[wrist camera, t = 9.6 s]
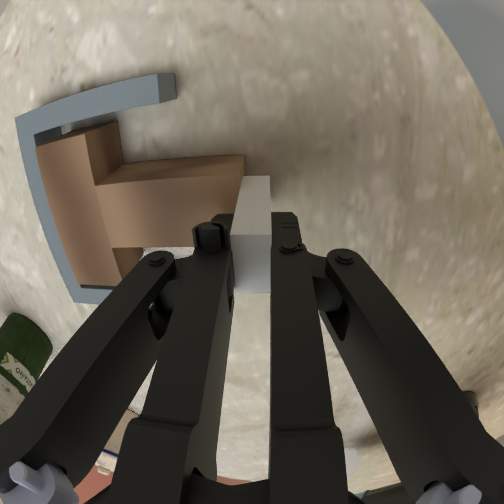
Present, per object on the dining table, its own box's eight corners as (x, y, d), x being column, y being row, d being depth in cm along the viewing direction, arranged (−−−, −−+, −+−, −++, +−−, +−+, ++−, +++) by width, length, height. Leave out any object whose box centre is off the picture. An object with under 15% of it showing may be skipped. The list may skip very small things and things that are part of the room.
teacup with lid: (88, 405, 40) (69, 460, 30) (106, 395, 36) (84, 461, 26) (144, 434, 44) (132, 487, 34) (170, 428, 40) (158, 490, 31)
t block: (242, 106, 15) (236, 113, 12) (249, 252, 21) (245, 289, 18) (70, 131, 16) (34, 147, 13) (100, 253, 22) (78, 284, 18)
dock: (174, 74, 14) (156, 73, 12) (201, 282, 23) (193, 309, 20) (41, 109, 15) (14, 117, 12) (88, 280, 23) (73, 302, 21)
